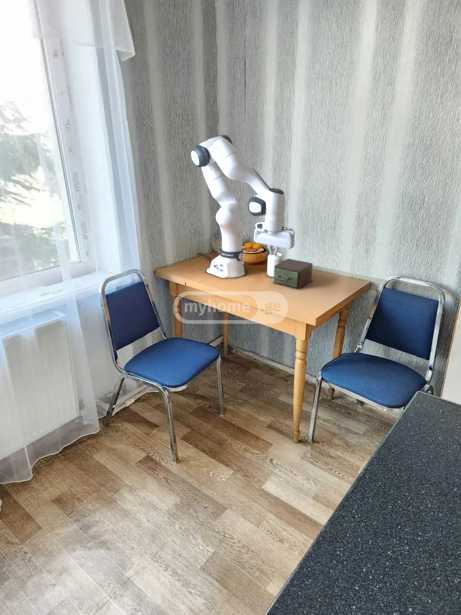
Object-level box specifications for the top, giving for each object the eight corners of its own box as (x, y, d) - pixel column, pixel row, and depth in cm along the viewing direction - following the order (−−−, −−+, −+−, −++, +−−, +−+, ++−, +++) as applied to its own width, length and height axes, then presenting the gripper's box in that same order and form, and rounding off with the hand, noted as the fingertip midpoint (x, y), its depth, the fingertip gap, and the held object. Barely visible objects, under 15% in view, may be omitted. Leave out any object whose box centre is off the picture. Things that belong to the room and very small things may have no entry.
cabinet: (298, 288, 202) (299, 270, 198) (273, 282, 210) (274, 265, 206) (311, 280, 213) (312, 263, 209) (287, 275, 221) (288, 258, 217)
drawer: (292, 290, 198) (292, 275, 195) (269, 284, 205) (269, 270, 202) (308, 279, 211) (309, 265, 208) (286, 274, 219) (287, 261, 215)
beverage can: (281, 278, 217) (282, 257, 212) (266, 277, 218) (267, 256, 213) (282, 273, 224) (283, 252, 219) (268, 272, 225) (268, 251, 220)
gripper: (298, 227, 178) (296, 256, 184) (259, 221, 189) (258, 249, 195) (291, 230, 174) (289, 260, 179) (252, 223, 184) (251, 252, 190)
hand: (273, 254), depth 187 cm, fingers closed
